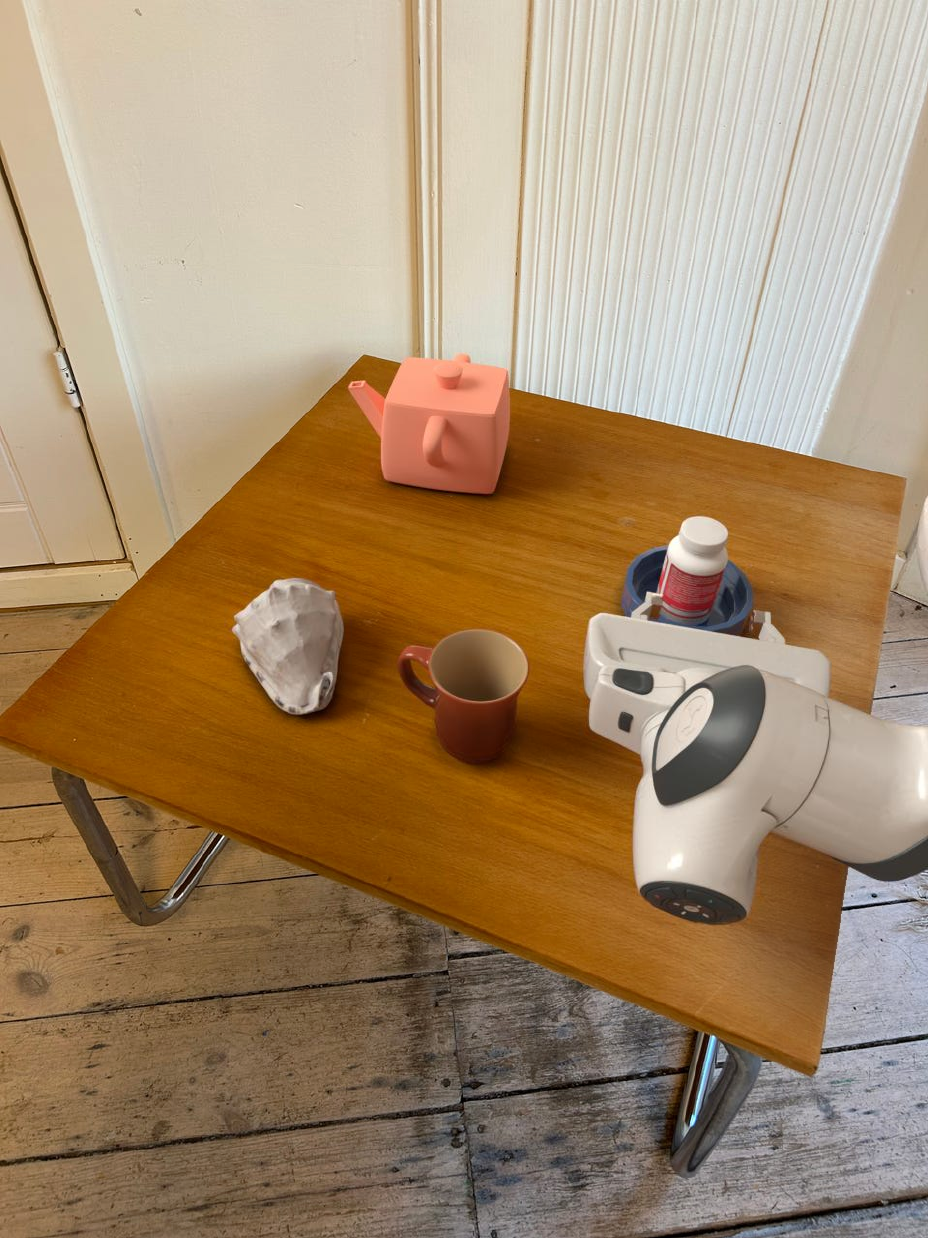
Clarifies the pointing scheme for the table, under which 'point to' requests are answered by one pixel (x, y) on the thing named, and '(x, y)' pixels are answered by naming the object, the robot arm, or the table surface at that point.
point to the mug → (470, 690)
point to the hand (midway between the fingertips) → (706, 606)
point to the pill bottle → (693, 571)
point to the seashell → (293, 643)
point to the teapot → (441, 423)
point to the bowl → (728, 604)
